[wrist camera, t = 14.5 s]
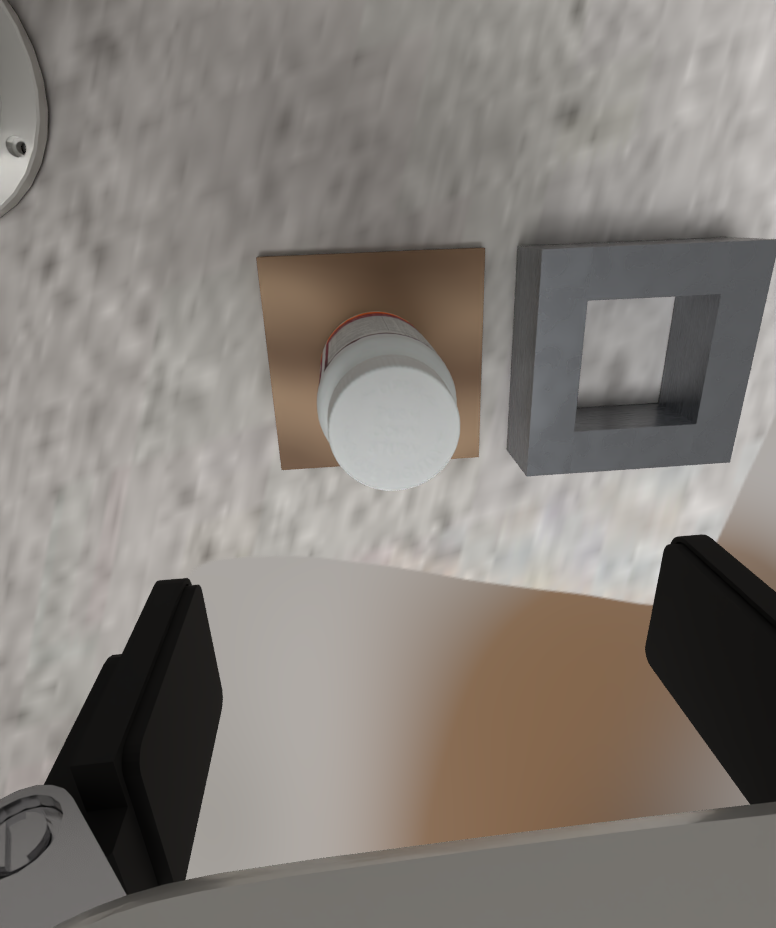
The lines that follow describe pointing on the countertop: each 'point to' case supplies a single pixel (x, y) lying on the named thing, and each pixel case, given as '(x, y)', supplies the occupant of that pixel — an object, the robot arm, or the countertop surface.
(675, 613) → the robot arm
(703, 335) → the metal collar
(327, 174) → the countertop surface
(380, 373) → the pill bottle
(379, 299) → the brown pad
